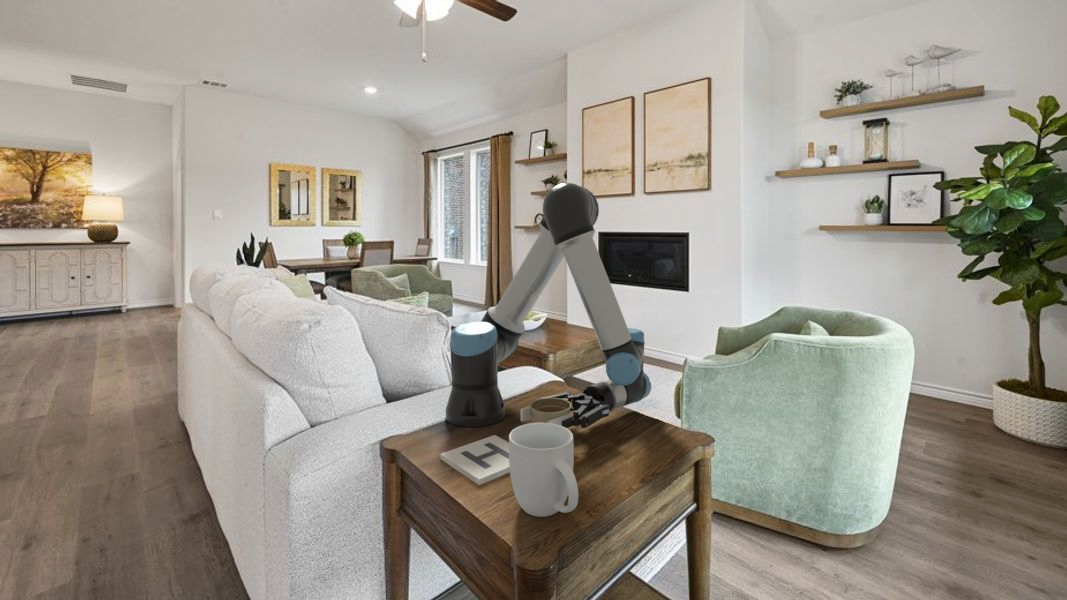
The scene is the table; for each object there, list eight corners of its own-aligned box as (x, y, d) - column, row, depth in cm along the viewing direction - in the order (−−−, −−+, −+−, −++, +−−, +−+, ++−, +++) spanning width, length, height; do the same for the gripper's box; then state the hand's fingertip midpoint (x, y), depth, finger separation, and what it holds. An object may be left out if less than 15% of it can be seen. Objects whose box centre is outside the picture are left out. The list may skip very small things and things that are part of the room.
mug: (601, 522, 80) (602, 447, 78) (546, 547, 74) (546, 465, 72) (548, 483, 92) (548, 417, 90) (497, 501, 86) (496, 431, 84)
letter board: (440, 459, 102) (440, 453, 102) (494, 439, 111) (494, 434, 111) (478, 485, 91) (478, 479, 91) (535, 461, 100) (535, 456, 100)
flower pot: (521, 444, 108) (521, 407, 107) (543, 429, 116) (543, 394, 115) (558, 454, 104) (558, 415, 102) (578, 438, 111) (578, 401, 110)
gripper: (638, 424, 113) (569, 454, 99) (573, 400, 129) (505, 423, 114) (639, 393, 112) (569, 418, 98) (573, 373, 128) (504, 392, 113)
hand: (534, 421), depth 106 cm, fingers closed on flower pot, 8 cm apart
